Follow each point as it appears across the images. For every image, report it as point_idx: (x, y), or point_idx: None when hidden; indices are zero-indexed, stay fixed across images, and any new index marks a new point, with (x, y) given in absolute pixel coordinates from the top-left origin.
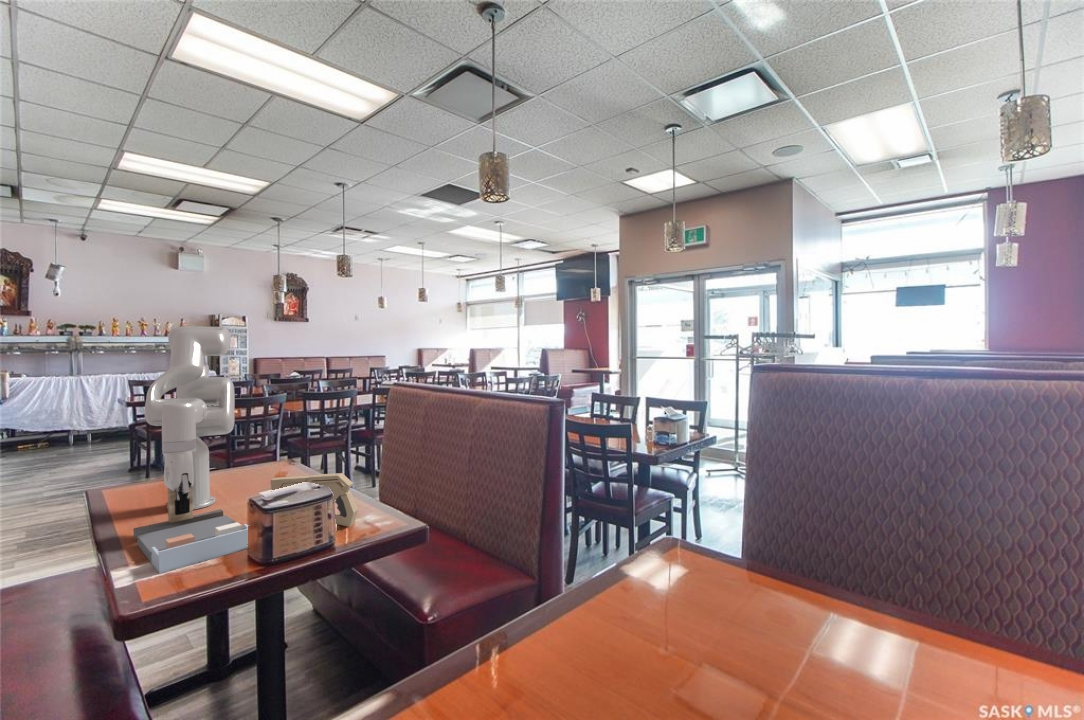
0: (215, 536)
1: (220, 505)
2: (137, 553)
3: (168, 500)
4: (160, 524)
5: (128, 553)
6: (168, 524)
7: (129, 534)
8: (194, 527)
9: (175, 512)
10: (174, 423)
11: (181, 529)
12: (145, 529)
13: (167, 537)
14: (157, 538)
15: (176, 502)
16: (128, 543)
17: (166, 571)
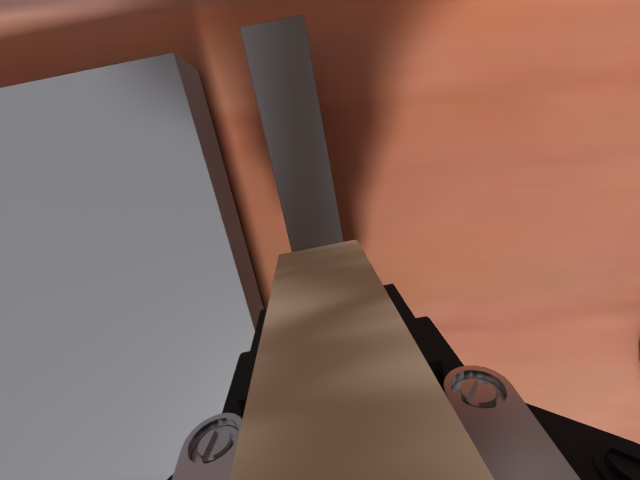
0: None
1: (615, 426)
2: (42, 72)
3: (366, 326)
4: (283, 196)
5: (67, 23)
6: (290, 238)
7: (453, 19)
8: (159, 357)
9: (259, 317)
10: None
11: (160, 299)
12: (259, 103)
13: (31, 230)
14: (36, 177)
15: (244, 391)
16: (268, 18)
17: None
